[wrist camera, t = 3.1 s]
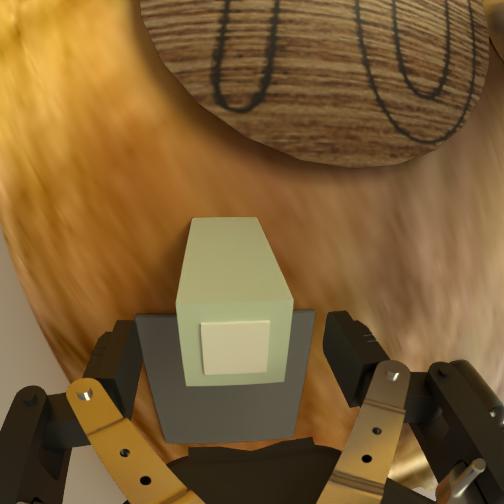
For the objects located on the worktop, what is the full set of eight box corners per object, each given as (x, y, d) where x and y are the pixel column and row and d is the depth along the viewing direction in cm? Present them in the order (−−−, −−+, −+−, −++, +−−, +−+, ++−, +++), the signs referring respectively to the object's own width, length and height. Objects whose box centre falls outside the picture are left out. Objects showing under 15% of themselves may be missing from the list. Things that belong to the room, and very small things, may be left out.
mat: (135, 314, 22) (134, 317, 21) (314, 309, 23) (315, 311, 23) (166, 439, 28) (166, 442, 27) (291, 434, 29) (292, 437, 29)
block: (192, 217, 20) (175, 305, 10) (256, 217, 20) (294, 301, 11) (194, 275, 21) (185, 388, 12) (254, 274, 22) (284, 384, 12)
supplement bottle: (435, 363, 28) (494, 442, 17) (476, 352, 29) (532, 418, 18) (414, 406, 31) (458, 481, 20) (454, 393, 32) (499, 458, 21)
